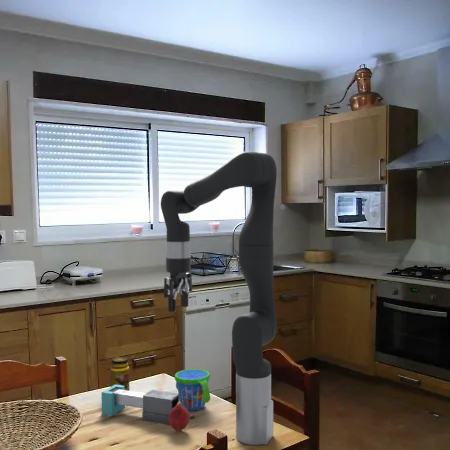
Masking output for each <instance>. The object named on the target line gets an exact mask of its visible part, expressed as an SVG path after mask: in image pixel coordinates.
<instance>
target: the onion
mask: <svg viewBox="0 0 450 450" xmlns="http://www.w3.org/2000/svg"><path fill="white" fill-rule="evenodd" d="M181 404H182V403H181V402H180V401H179V402H178V403H177V405H176V406H175V407H174V408H173V409H172V410H171V411H170V413H169V417H168V421H169V424H170V425H169V426H170V427H171V428H172V429H173V430H174V431H176V432H179V433H180V432H182V430H184V429H185V428H186V427H187V426H188V425H189V424H190V419H191V418H190V417H191V416H190V413H189V410H187V409H186V408H185V407H183V406H182V405H181Z"/></svg>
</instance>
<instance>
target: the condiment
mask: <svg viewBox="0 0 450 450" xmlns="http://www.w3.org/2000/svg"><path fill="white" fill-rule="evenodd" d="M109 375H110V378H109V379H110V387H112V386H113V385H122V386H125V390H127V391H130V367H129V359H128V357H125V356H124V357H123V356H119V357H113V358H112V359H111V367H110V374H109ZM101 399H102V396H101Z"/></svg>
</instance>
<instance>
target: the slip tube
mask: <svg viewBox="0 0 450 450" xmlns="http://www.w3.org/2000/svg"><path fill="white" fill-rule="evenodd" d="M111 392H114V404H119V405H125V407H126V406H127V407H131V408H137V409H143V395H145V394H146V393H147V392H140V391H139V392H137V391H134V390H129V391H127V390H120V389H114V390H112V391H111Z"/></svg>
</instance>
